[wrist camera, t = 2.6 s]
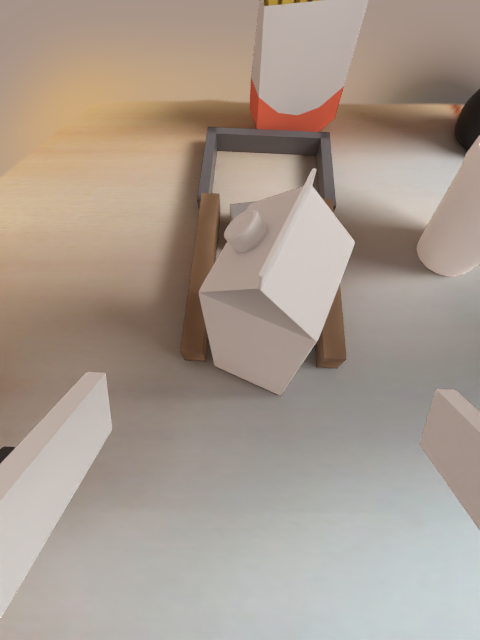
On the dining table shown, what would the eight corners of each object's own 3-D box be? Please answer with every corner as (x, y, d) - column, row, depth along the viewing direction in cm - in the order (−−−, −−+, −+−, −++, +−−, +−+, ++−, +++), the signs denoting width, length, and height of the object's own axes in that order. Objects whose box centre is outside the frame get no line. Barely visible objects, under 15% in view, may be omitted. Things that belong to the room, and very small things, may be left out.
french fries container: (248, 124, 46) (255, -63, 30) (320, 114, 47) (364, -71, 31) (255, 145, 44) (267, -41, 28) (330, 135, 45) (383, -51, 29)
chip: (266, 218, 39) (268, 200, 37) (273, 247, 38) (276, 231, 35) (230, 222, 39) (230, 204, 36) (235, 252, 37) (236, 235, 35)
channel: (325, 217, 39) (332, 199, 37) (336, 368, 32) (346, 359, 29) (204, 211, 39) (201, 192, 37) (185, 359, 32) (180, 350, 29)
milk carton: (306, 333, 33) (383, 190, 16) (280, 397, 30) (340, 308, 13) (243, 307, 34) (251, 147, 17) (213, 366, 31) (186, 247, 14)
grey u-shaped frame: (324, 149, 44) (329, 132, 42) (330, 221, 39) (336, 206, 37) (209, 144, 44) (207, 126, 42) (199, 214, 39) (197, 199, 37)
